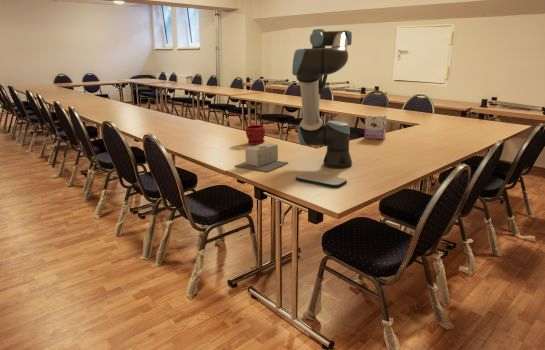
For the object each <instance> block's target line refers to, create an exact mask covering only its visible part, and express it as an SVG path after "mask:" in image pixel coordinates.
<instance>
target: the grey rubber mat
mask: <svg viewBox="0 0 545 350" xmlns="http://www.w3.org/2000/svg"><path fill="white" fill-rule="evenodd" d="M288 164H289V162H288V161H280V160H277V161H273V162H270V163H267V164H264V165H261V166H254V165H249V164H246V161H244V162H241V163H238V164H236V165H234V168H240V169H246V170H252V171H256V172H262V171H263V173H270V172H272V171H275V170H277V169H280V168H281V167H284V166H286V165H288Z"/></svg>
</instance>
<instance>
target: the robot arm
mask: <svg viewBox="0 0 545 350" xmlns="http://www.w3.org/2000/svg"><path fill="white" fill-rule="evenodd" d="M352 36H353V32H352V30H346V29H345V30H333V31H332V30H328V31H327V30H325V29H323V28H316V29H313V30H312V33H311V34H309V42H310V45H312V46H311V47H312V48H297V49H296V50H295V51H294V54H293V59H292V69H291V71H292V72H291V73H292V75H293V76H295V77H296V81H298V82H299V86H300V97H301V110H302V119H301V121H300V123H299V124H298V126H297V136H298V137H297V138H298V141H299V143H300V145H302V146H309V147H310V146H316V147H317V146H318V147H319V146H320V147H321V146H323V147H324V146H325V147H326V152H325V156H324V159H323V161H322V162H323V166H325V167H326V168H330V169H347V168H350V167H351V166H352V165H353V161H352V157H351V153H350V134H351V132H350V131H351V129H350V125H349V123H347V122H344V121H339V120H327V123H324V121H323V119H322V118H321V117H320V100H321V95H322V93H323V88H324V89H325V87H326V84H327V83H326V82H327V79H328V75H332V74H335V73H337V72H339V71H340V70H341V69H343V68H344V67H345V66H346V64H347V63H348V59H349V52H348V50H347V49H348V46H351V45H352V40H353V39H352V38H353V37H352ZM352 167H353V166H352Z"/></svg>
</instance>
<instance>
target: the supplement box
mask: <svg viewBox="0 0 545 350" xmlns="http://www.w3.org/2000/svg"><path fill="white" fill-rule="evenodd" d="M278 147H279V146H278V144H275V143H269V142H264V143H262V144H259V145H252V146H247V147H245V149H244V151H245V162H246V164H249V165H254V166H261V165H264V164H267V163H270V162H273V161H279V148H278Z"/></svg>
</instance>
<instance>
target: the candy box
mask: <svg viewBox="0 0 545 350" xmlns="http://www.w3.org/2000/svg"><path fill="white" fill-rule="evenodd" d="M386 130H387V115H381V114H367V115H365V116H364V131H363V132H364V133H363V136H364V137H363V139H365V140H367V139H368V140H379V141H384V140H385V139H386V133H387V132H386Z"/></svg>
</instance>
